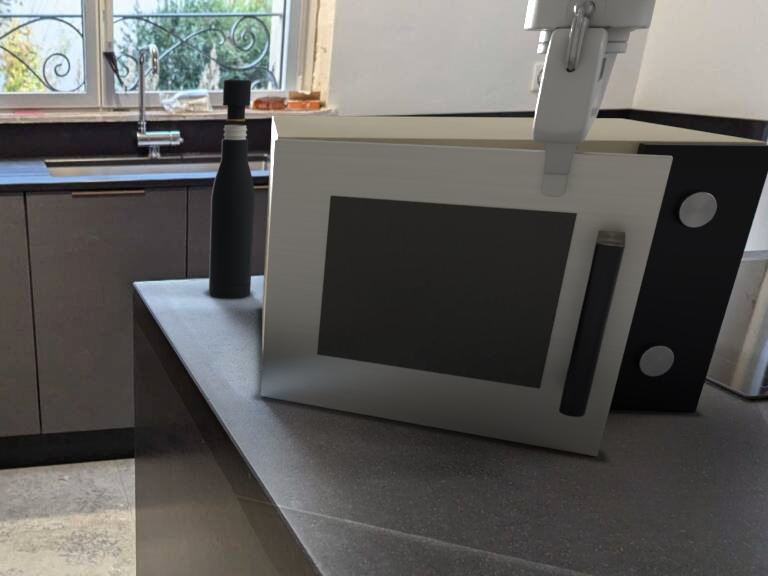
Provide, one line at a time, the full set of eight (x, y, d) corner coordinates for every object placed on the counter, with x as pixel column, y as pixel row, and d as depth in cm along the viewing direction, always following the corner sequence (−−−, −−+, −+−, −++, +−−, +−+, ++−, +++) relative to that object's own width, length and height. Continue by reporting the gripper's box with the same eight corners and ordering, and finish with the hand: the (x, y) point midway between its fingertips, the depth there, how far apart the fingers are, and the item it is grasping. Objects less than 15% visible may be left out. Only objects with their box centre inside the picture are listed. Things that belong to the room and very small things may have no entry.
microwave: (699, 416, 83) (782, 144, 72) (262, 399, 87) (277, 138, 76) (577, 318, 115) (622, 118, 104) (262, 309, 119) (272, 115, 108)
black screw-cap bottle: (200, 294, 126) (205, 80, 113) (222, 285, 131) (229, 79, 118) (236, 300, 123) (245, 81, 110) (257, 291, 128) (268, 80, 115)
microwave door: (594, 487, 69) (677, 166, 58) (236, 417, 83) (248, 145, 71) (597, 450, 76) (672, 155, 65) (265, 391, 89) (280, 138, 78)
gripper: (637, -5, 53) (590, 215, 59) (635, 9, 69) (599, 180, 75) (532, -2, 56) (497, 208, 62) (554, 11, 72) (525, 176, 78)
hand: (553, 193), depth 69 cm, fingers closed on microwave door, 2 cm apart
